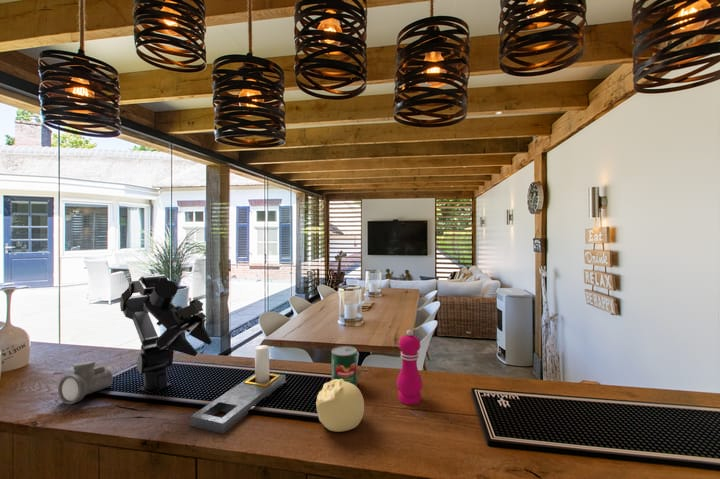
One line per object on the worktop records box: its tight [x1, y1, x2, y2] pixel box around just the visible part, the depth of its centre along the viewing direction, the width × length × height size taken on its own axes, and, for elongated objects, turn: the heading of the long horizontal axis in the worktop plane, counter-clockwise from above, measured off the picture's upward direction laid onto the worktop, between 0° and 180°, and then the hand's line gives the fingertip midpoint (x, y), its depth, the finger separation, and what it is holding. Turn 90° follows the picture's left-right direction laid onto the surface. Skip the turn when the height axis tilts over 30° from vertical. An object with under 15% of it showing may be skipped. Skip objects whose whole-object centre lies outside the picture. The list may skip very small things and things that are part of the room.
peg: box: [254, 344, 270, 384], centre depth 106 cm, size 4×4×12 cm
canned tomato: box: [331, 345, 358, 387], centre depth 108 cm, size 8×8×11 cm
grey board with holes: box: [189, 372, 287, 434], centre depth 98 cm, size 28×10×3 cm, turn 161°
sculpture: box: [315, 379, 365, 433], centre depth 87 cm, size 11×12×11 cm
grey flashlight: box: [57, 360, 114, 405], centre depth 103 cm, size 12×8×10 cm
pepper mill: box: [396, 329, 423, 406], centre depth 98 cm, size 7×7×20 cm
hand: (203, 349), depth 102 cm, fingers open, 9 cm apart
